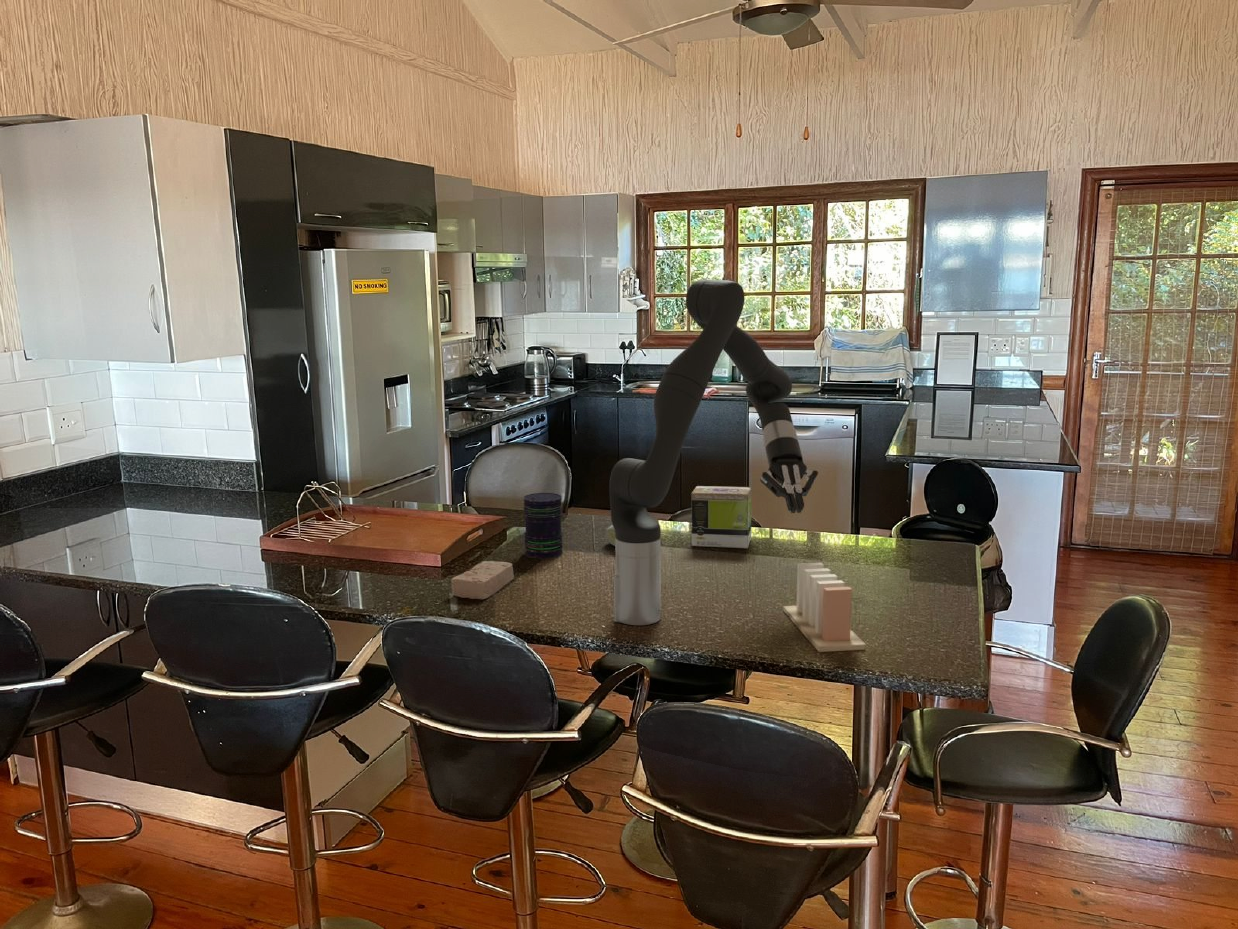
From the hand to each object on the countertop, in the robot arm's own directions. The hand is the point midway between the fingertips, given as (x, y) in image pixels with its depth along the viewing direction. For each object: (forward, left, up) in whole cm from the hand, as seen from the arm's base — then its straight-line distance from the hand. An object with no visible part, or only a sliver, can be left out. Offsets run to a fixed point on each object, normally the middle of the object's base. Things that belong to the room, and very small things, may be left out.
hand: (797, 511), depth 200 cm
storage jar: (-62, +29, -20) cm, 72 cm away
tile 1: (+3, -10, -19) cm, 21 cm away
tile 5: (+7, -25, -19) cm, 32 cm away
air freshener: (-42, +39, -20) cm, 61 cm away
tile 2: (+4, -13, -19) cm, 23 cm away
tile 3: (+5, -17, -19) cm, 26 cm away
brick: (-70, 0, -20) cm, 73 cm away
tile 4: (+6, -21, -19) cm, 29 cm away
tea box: (-17, +44, -20) cm, 52 cm away
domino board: (+5, -17, -20) cm, 27 cm away
